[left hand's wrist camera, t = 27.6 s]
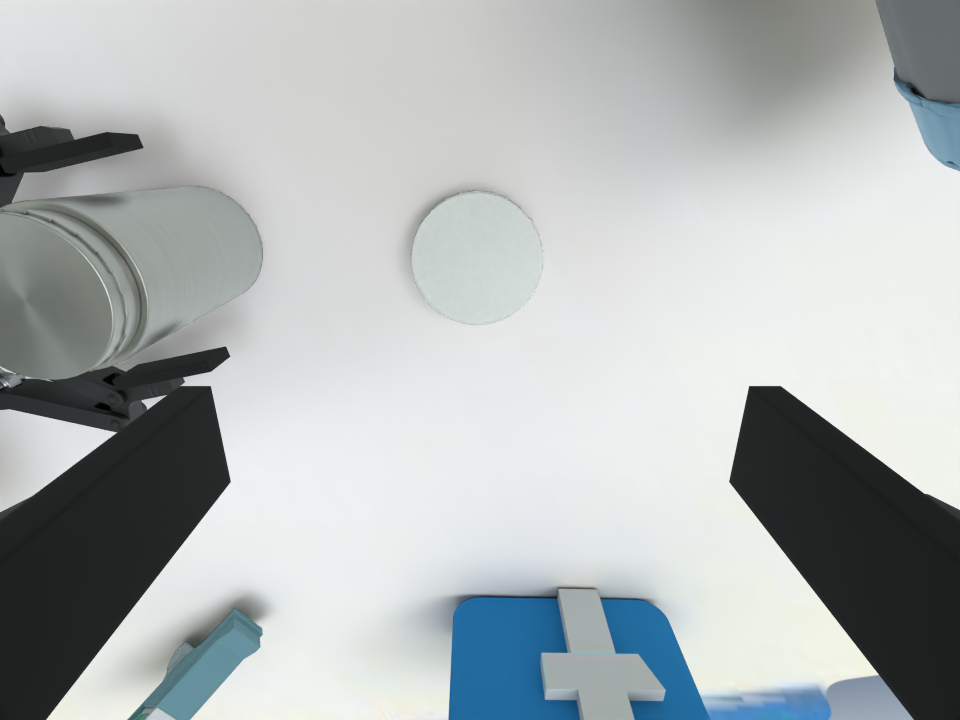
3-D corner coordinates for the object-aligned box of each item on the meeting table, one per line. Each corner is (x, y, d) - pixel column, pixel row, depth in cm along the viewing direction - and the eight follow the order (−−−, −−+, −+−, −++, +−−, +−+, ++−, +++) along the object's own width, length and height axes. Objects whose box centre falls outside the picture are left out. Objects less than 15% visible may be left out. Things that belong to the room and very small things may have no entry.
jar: (240, 175, 36) (69, 186, 21) (278, 290, 39) (151, 371, 24) (128, 198, 36) (-116, 224, 21) (174, 309, 39) (-13, 400, 24)
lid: (494, 339, 40) (495, 348, 38) (390, 273, 38) (385, 280, 36) (565, 238, 37) (570, 243, 35) (457, 162, 35) (456, 162, 33)
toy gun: (72, 753, 48) (34, 841, 39) (234, 582, 54) (233, 623, 45) (105, 772, 49) (75, 862, 40) (260, 602, 55) (264, 646, 46)
